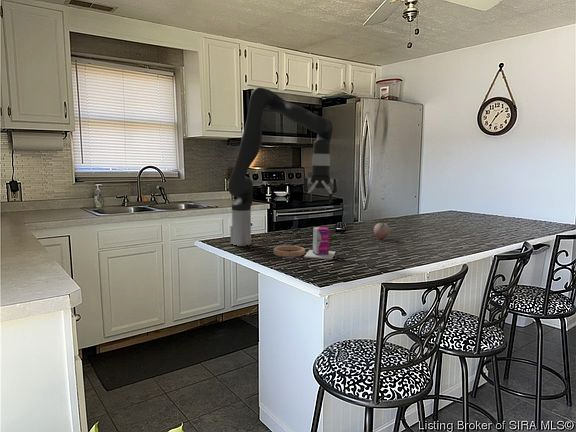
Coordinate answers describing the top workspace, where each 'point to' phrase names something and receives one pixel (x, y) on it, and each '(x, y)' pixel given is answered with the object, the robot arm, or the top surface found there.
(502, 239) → the top surface
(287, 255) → the tan faceted ring
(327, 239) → the supplement box
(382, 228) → the decorative fruit
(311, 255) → the rubber mat
